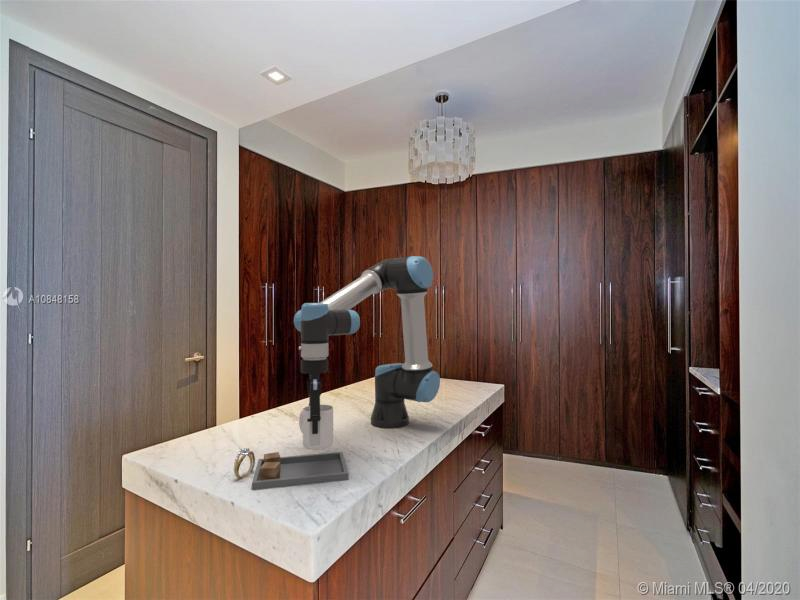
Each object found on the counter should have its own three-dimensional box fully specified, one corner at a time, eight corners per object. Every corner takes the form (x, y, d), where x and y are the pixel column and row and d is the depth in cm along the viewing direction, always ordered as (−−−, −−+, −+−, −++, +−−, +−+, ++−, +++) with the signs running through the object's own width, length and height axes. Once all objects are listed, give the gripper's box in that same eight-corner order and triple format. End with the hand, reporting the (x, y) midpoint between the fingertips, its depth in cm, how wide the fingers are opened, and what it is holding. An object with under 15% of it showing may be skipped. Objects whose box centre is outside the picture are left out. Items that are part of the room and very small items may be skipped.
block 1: (278, 466, 115) (278, 451, 115) (280, 471, 111) (280, 456, 111) (263, 468, 113) (263, 454, 113) (265, 473, 110) (265, 459, 110)
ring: (249, 472, 112) (249, 444, 112) (258, 474, 111) (258, 445, 111) (229, 483, 106) (230, 452, 106) (239, 485, 105) (239, 454, 105)
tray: (342, 459, 121) (342, 451, 121) (348, 482, 106) (348, 473, 106) (258, 467, 116) (258, 459, 116) (251, 493, 100) (251, 483, 100)
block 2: (280, 477, 107) (280, 462, 107) (275, 483, 103) (275, 468, 103) (265, 477, 108) (265, 462, 108) (259, 483, 104) (259, 468, 104)
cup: (316, 452, 105) (316, 413, 106) (287, 443, 113) (287, 406, 113) (339, 443, 112) (339, 407, 112) (311, 435, 119) (311, 401, 119)
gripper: (300, 353, 122) (300, 428, 122) (300, 364, 100) (300, 454, 100) (325, 353, 124) (325, 426, 123) (330, 363, 102) (330, 451, 102)
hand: (314, 438), depth 112 cm, fingers closed on cup, 10 cm apart
